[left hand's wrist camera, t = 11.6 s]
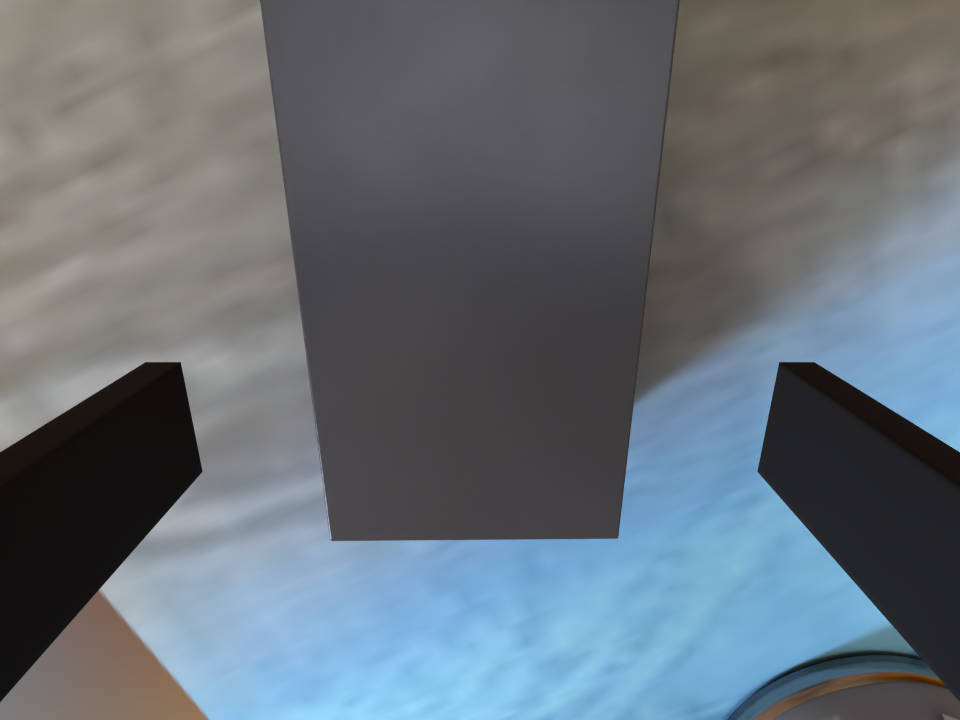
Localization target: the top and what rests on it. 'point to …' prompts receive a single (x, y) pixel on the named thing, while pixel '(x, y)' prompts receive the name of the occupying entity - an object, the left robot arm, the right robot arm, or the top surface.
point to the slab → (471, 253)
